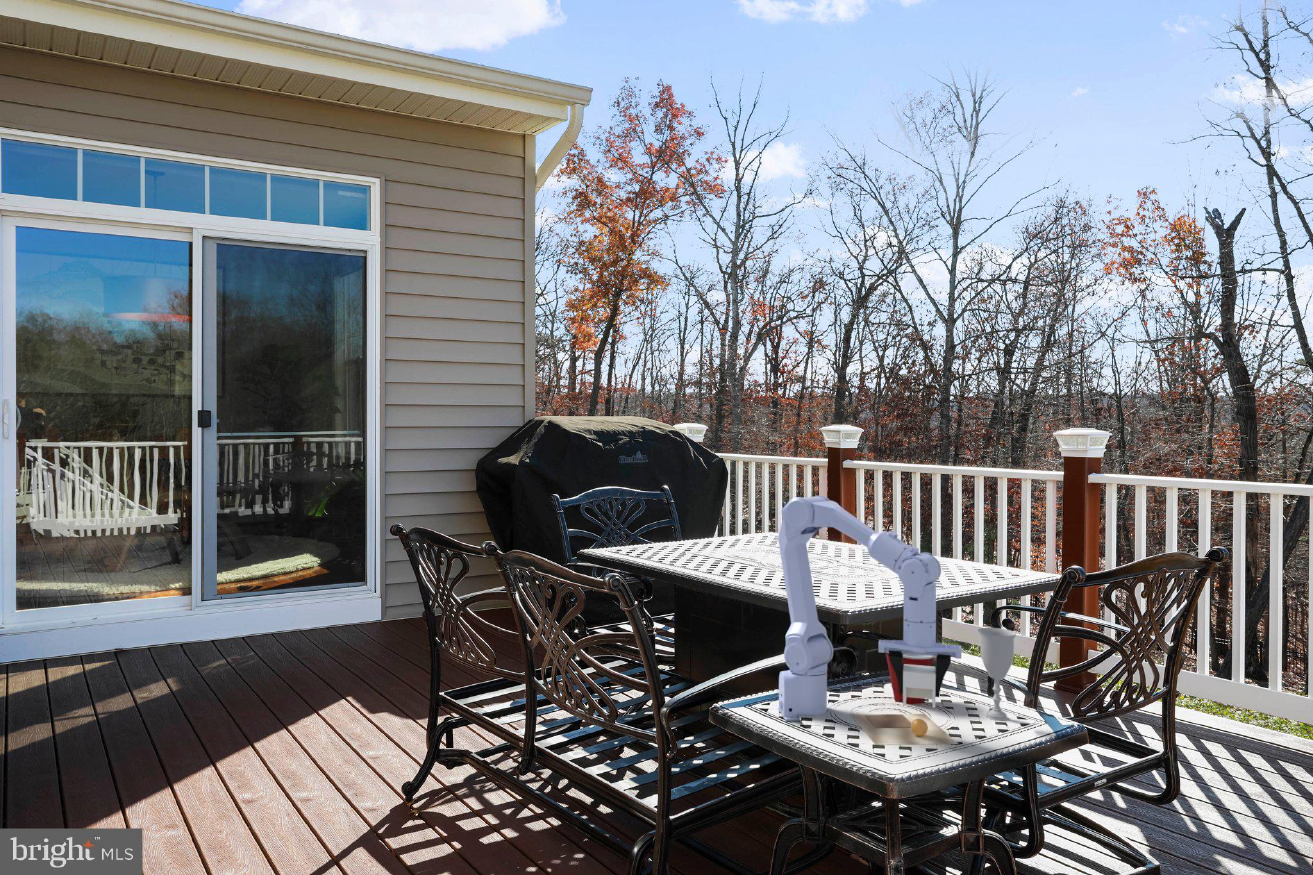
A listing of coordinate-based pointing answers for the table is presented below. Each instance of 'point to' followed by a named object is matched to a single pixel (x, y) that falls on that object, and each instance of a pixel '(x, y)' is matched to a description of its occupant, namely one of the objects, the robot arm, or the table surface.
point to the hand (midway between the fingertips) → (919, 693)
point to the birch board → (900, 729)
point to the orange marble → (919, 727)
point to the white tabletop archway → (919, 682)
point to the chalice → (997, 662)
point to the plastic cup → (907, 659)
